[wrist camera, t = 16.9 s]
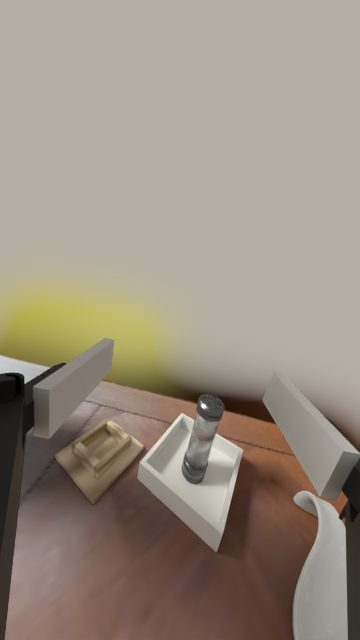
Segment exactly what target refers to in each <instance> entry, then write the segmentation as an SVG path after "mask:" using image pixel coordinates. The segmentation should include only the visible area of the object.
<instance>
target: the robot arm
mask: <svg viewBox="0 0 360 640" xmlns="http://www.w3.org/2000/svg"><path fill="white" fill-rule="evenodd" d="M113 346H114V340H111V339H106V338H105V339H103V340H102V341H100V342H99V343H97V344H96V345H94V346H93V347H91V348H90V349H88V350H87V351H85V352H84V353H83V354H81V355H79V356H78V357H76V358H75V359H73V360H72V361H71V362H69V363H67V364H66V363H61V364H58V365H55V366H53V367H51V368H50V369H48V370H47V371H46V372H43V373H42V374H40V376H37V377H35V378H34V379H32V380H31V381H29V382H27V383H26V384H24V376H23V375H22V374H20V373H4V374H0V640H5V630H6V621H7V612H8V602H9V593H10V584H11V574H12V565H13V556H14V546H15V537H16V528H17V518H18V509H19V500H20V490H21V481H22V472H23V462H24V453H25V444H26V433H27V432H28V431H29V430H30V429H31V428H32V427H33V426H34V436H36V437H41V438H45V439H50V438H51V437H52V435H53V434H54V433H55V432H56V431H57V430H58V429H59V428H60V426H61V425H62V424H63V423H64V422H65V421H66V420H67V419H68V418H69V416H70V415H71V414H72V413H73V412H74V411H75V410H76V409H77V407H78V406H79V405H80V404H81V403H82V402H83V401H84V400H85V399H86V397H87V396H88V395H89V394H90V393H91V392H92V391H93V390H94V388H95V387H96V386H97V385H98V384H99V383H100V382H101V381H102V380H103V378H104V377H105V376H106V375H107V374H108V373H109V372H110V371H111V366H112V355H113ZM263 402H264V404H265V405H266V407H267V409H268V410H269V412H270V414H271V416H272V417H273V419H274V421H275V422H276V424H277V426H278V427H279V429H280V431H281V432H282V434H283V436H284V437H285V439H286V441H287V442H288V444H289V446H290V447H291V449H292V451H293V453H294V454H295V456H296V458H297V459H298V461H299V463H300V464H301V466H302V468H303V469H304V471H305V473H306V474H307V476H308V478H309V479H310V481H311V483H312V484H313V486H314V488H315V489H316V491H317V493H318V495H319V496H320V497H323V498H328V499H332V500H337V498H338V496H339V494H340V492H341V491H343V493H344V494H345V496H346V497H347V498H348V501H347V503H346V505H345V506H344V508H343V510H342V512H341V513H340V515H339V519H340V520H341V521H342V519H343V517H345V524H346V573H347V622H348V640H360V449H359V448H358V447H357V446H356V445H355V444H354V443H353V442H352V441H351V440H350V439H349V438H347V436H346V435H345V434H344V433H343V432H341V430H340V429H339V428H338V427H337V426H336V425H335V424H334V423H333V422H332V421H330V420H329V419H328V418H326V417H325V416H323V415H322V414H321V413H320V412H319V411H318V410H317V409H316V408H315V407H314V406H313V405H312V404H311V403H310V402H309V401H308V400H307V399H306V398H305V396H303V394H302V393H301V392H300V391H299V390H298V389H297V388H296V387H295V386H294V385H292V383H291V382H290V381H289V380H288V379H287V378H286V377H285V376H284V375H283V374H282V373H276V372H272V375H271V379H270V381H269V384H268V387H267V390H266V393H265V396H264V398H263Z"/></svg>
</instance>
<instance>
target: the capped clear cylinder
mask: <svg viewBox="0 0 360 640" xmlns="http://www.w3.org/2000/svg"><path fill="white" fill-rule="evenodd" d="M223 411H224V404H223V402H222V401H221V400H220V399H218V398H217V397H215V396H212V395H207V394H205V395H202V396H200V398H199V401H198V405H197V413H196V417H195V421H194V424H193V428H192V432H191V436H190V440H189V444H188V448H187V451H186V452H185V455H184V459H183V463H182V468H181V469H182V474H183V476H184V478H185V479H186V480H187V481H188V482H190V483H192V484H199V483H201V482H202V481H203V479H204V476H205V473H206V469H207V466H208V459H209V455H210V452H211V448H212V445H213V441H214V438H215V435H216V431H217V428H218V424H219V421H220V420H221V418H222V415H223Z"/></svg>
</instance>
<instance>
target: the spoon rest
mask: <svg viewBox="0 0 360 640" xmlns="http://www.w3.org/2000/svg"><path fill="white" fill-rule="evenodd" d="M294 502H295V503H296V504H297V505H298V506H299V507H300V508H302V509H303V510H305V511H306V512H308V513H310V514H312V515H314V516H315V517H318V522H319V524H318V533H317V537H316V540H315V542H314V545H313V547H312V549H311V551H310V553H309V555H308V557H307V559H306V561H305V564H304V566H303V569H302V571H301V574H300V576H299V579H298V582H297V586H296V590H295V595H294V601H293V634H294V640H348V622H347V573H346V527H345V525H344V523H343V521H341V520H340V519H339V514H338V512H337V511H336V510H335V508H334V507H333V506H332V505H331V504H330V503H328V502H326V501H324V500H321V499H319V498H317V497H316V496H315V495H313V494H312V493H310V492H308V491H301V492H299V493H297V494H296V495H295V497H294Z"/></svg>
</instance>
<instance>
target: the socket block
mask: <svg viewBox="0 0 360 640" xmlns="http://www.w3.org/2000/svg"><path fill="white" fill-rule="evenodd" d="M143 447H144V446H143V445H142V444H141V443H140V442H138V441H137V440H136V439H135V438H133V437H132V436H131V435H130V434H128V433H127V432H126V431H125V430H123V429H122V428H121V427H120V426H118V425H117V424H116V423H115V422H113V421H112V420H111V419H110V418H106V419H105V420H104V421H102V422H101V423H99V424H98V425H96V426H95V427H94V428H92V429H91V430H89V431H88V432H86V433H85V434H83V435H82V436H81V437H79V438H78V439H76V440H75V441H73V442H72V443H71V444H69V445H68V446H66V447H65V448H63V449H62V450H60V451H59V452H58V453H56V454H55V459H56V460H57V461H58V462H59V464H60V465H61V466H62V467H63V468H64V470H65V471H66V472H67V473H68V475H69V476H70V477H71V478H72V479H73V481H74V482H75V483H76V484H77V486H78V487H79V488H80V489H81V490H82V492H83V493H84V494H85V495H86V497H87V498H88V499H89V500H90V501H91V503H92V504H94V503H95V502H96V501H97V500H98V499H99V498H100V496H101V495H102V494H103V493H104V492H105V491H106V490H107V489H108V488H109V486H110V485H111V484H112V483H113V482H114V481H115V480H116V479H117V478H118V476H119V475H120V474H121V473H122V472H123V471H124V470H125V469H126V468H127V467H128V465H129V464H130V463H131V462H132V461H133V460H134V459H135V458H136V457H137V455H138V454H139V453H140V452H141V451H142V450H143Z"/></svg>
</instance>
